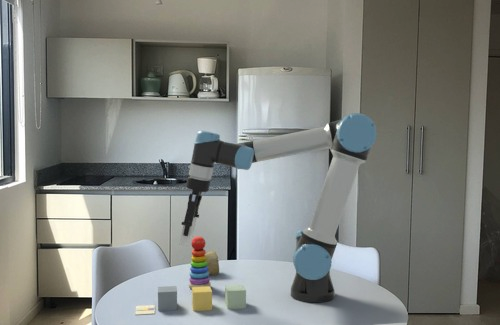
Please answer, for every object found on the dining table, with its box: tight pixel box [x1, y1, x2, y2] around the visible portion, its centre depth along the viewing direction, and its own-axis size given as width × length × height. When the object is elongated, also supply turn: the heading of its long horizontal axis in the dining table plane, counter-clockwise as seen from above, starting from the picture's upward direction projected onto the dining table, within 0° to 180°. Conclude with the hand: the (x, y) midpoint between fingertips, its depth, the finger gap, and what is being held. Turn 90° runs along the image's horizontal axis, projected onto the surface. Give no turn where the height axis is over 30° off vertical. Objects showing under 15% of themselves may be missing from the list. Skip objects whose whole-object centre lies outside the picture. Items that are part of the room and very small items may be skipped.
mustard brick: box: [191, 285, 213, 312], centre depth 171 cm, size 6×6×6 cm
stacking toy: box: [188, 236, 211, 290], centre depth 192 cm, size 8×8×19 cm
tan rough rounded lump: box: [205, 250, 220, 276], centre depth 210 cm, size 10×10×10 cm
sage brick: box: [224, 284, 247, 310], centre depth 172 cm, size 6×6×6 cm
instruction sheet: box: [134, 304, 156, 316], centre depth 168 cm, size 6×8×1 cm
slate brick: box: [157, 285, 178, 311], centre depth 171 cm, size 6×6×6 cm
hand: (186, 240), depth 175 cm, fingers open, 13 cm apart
